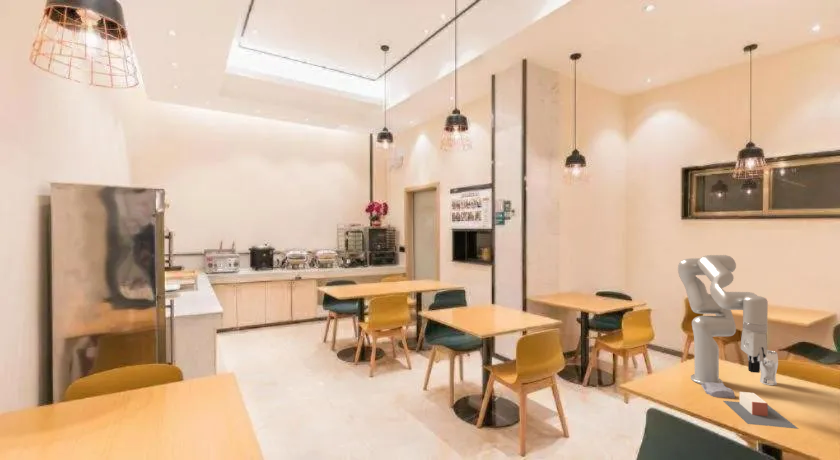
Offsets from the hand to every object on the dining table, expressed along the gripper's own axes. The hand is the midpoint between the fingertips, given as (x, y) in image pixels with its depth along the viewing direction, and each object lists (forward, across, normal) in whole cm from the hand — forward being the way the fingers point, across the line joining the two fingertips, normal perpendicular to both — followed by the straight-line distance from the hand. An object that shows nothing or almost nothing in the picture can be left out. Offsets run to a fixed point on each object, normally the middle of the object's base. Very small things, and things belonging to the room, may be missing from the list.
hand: (753, 371), depth 161 cm
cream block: (+13, +4, 0) cm, 14 cm away
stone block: (+18, -16, -7) cm, 25 cm away
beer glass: (+18, -35, +22) cm, 45 cm away
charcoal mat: (+17, +3, 0) cm, 17 cm away
